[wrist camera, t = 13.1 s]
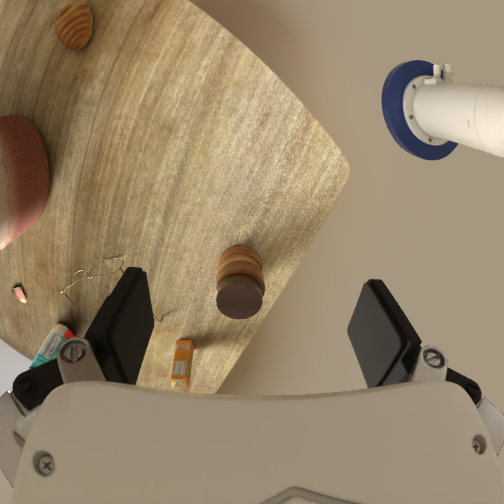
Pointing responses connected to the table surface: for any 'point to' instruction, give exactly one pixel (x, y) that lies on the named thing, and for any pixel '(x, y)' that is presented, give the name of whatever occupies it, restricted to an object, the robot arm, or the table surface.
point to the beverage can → (52, 344)
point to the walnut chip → (239, 296)
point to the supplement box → (182, 363)
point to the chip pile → (240, 264)
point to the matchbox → (19, 294)
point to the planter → (21, 177)
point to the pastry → (74, 24)
